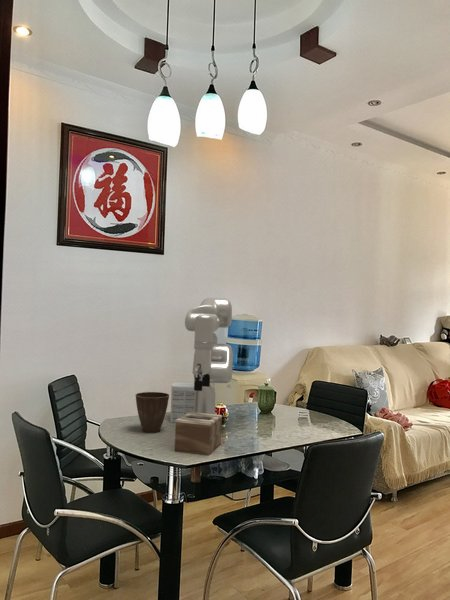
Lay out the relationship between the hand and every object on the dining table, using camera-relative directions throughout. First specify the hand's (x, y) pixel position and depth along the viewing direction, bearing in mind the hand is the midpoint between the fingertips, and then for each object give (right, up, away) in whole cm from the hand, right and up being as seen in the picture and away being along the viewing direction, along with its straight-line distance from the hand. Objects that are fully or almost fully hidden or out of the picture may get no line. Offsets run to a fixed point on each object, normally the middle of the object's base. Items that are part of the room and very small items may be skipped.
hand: (201, 388), depth 205 cm
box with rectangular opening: (-1, -24, -1) cm, 24 cm away
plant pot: (-24, -23, +23) cm, 40 cm away
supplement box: (-11, -24, +47) cm, 54 cm away
